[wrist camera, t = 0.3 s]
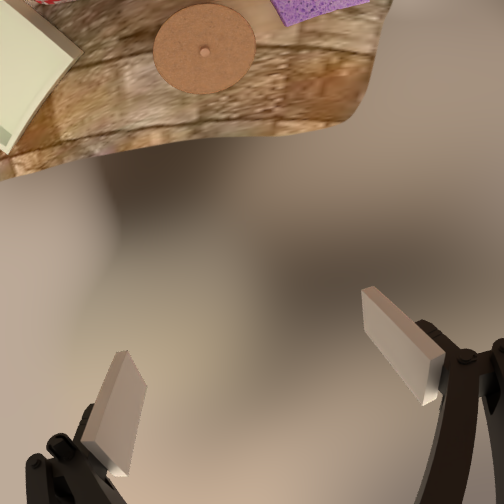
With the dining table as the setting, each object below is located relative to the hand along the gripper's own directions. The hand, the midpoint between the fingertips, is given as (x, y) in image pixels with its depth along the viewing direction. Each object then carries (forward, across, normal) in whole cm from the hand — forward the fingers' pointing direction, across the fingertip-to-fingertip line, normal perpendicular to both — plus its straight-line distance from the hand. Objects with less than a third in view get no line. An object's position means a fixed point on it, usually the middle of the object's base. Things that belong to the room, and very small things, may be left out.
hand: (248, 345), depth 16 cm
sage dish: (+21, -24, +33) cm, 46 cm away
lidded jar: (+24, +3, +26) cm, 35 cm away
